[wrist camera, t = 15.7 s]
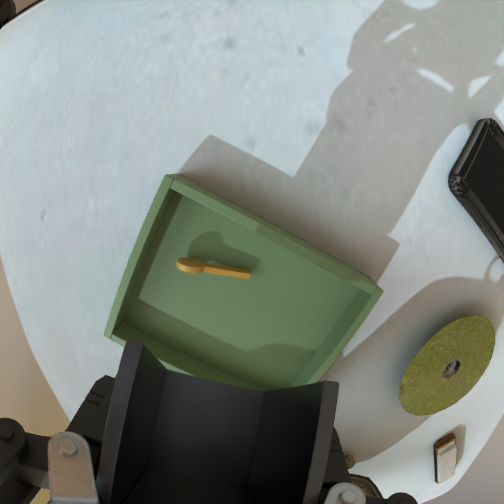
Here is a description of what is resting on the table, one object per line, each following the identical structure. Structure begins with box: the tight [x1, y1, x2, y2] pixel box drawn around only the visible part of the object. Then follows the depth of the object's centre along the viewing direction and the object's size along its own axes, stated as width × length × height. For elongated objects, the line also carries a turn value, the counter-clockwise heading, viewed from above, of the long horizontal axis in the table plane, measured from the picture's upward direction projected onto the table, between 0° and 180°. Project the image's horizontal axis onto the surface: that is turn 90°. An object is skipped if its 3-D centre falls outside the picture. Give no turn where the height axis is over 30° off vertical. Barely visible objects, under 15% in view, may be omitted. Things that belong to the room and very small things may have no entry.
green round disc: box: [399, 315, 495, 416], centre depth 22 cm, size 11×11×2 cm
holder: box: [96, 338, 339, 504], centre depth 9 cm, size 6×6×8 cm
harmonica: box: [434, 433, 457, 484], centre depth 27 cm, size 15×3×2 cm, turn 27°
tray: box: [104, 174, 383, 391], centre depth 20 cm, size 15×12×2 cm
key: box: [176, 257, 251, 279], centre depth 19 cm, size 5×2×1 cm
